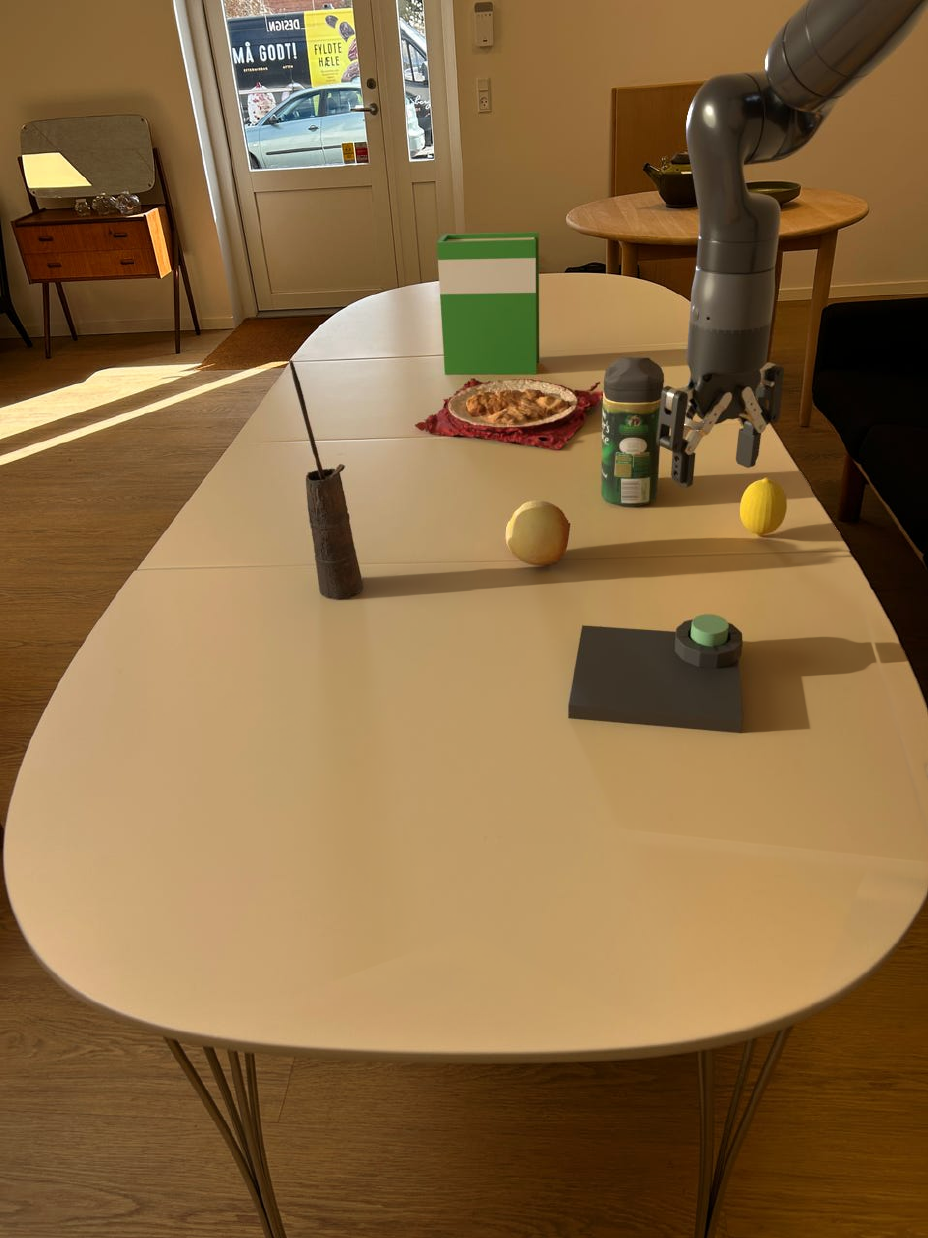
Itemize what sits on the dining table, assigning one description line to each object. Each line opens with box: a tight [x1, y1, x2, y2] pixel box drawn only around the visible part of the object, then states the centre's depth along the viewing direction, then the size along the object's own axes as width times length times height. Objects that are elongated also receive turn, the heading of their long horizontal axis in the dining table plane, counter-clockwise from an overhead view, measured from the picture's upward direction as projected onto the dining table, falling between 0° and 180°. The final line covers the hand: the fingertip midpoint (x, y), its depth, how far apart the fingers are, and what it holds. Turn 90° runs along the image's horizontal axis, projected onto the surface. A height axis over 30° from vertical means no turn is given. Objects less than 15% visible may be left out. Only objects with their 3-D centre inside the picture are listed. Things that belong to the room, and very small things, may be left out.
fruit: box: [505, 500, 571, 566], centre depth 113 cm, size 8×8×8 cm
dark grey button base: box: [567, 618, 744, 734], centre depth 93 cm, size 16×14×4 cm
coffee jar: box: [600, 356, 665, 508], centre depth 126 cm, size 10×8×19 cm
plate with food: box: [414, 377, 603, 451], centre depth 158 cm, size 24×26×4 cm
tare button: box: [691, 613, 729, 647], centre depth 94 cm, size 4×4×2 cm
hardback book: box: [436, 231, 540, 375], centre depth 175 cm, size 18×7×24 cm, turn 82°
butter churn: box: [288, 359, 364, 600], centre depth 105 cm, size 9×10×28 cm
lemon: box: [739, 477, 788, 538], centre depth 116 cm, size 6×6×8 cm
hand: (714, 474), depth 97 cm, fingers open, 8 cm apart
